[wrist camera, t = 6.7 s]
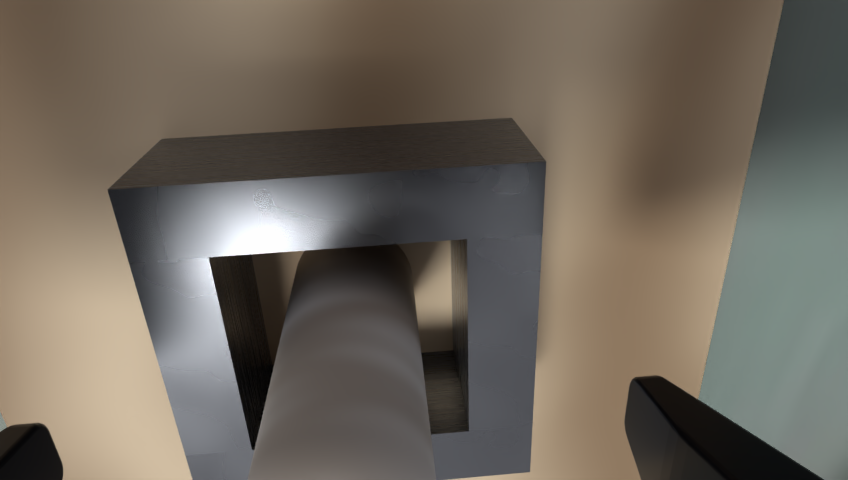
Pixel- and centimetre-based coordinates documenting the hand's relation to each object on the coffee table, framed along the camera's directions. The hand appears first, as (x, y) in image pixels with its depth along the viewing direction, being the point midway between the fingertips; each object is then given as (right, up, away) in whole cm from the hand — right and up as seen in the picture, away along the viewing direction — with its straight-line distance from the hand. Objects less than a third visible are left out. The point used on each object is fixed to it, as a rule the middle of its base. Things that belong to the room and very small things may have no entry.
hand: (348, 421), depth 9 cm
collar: (0, +2, +4) cm, 4 cm away
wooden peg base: (0, +2, +4) cm, 5 cm away
